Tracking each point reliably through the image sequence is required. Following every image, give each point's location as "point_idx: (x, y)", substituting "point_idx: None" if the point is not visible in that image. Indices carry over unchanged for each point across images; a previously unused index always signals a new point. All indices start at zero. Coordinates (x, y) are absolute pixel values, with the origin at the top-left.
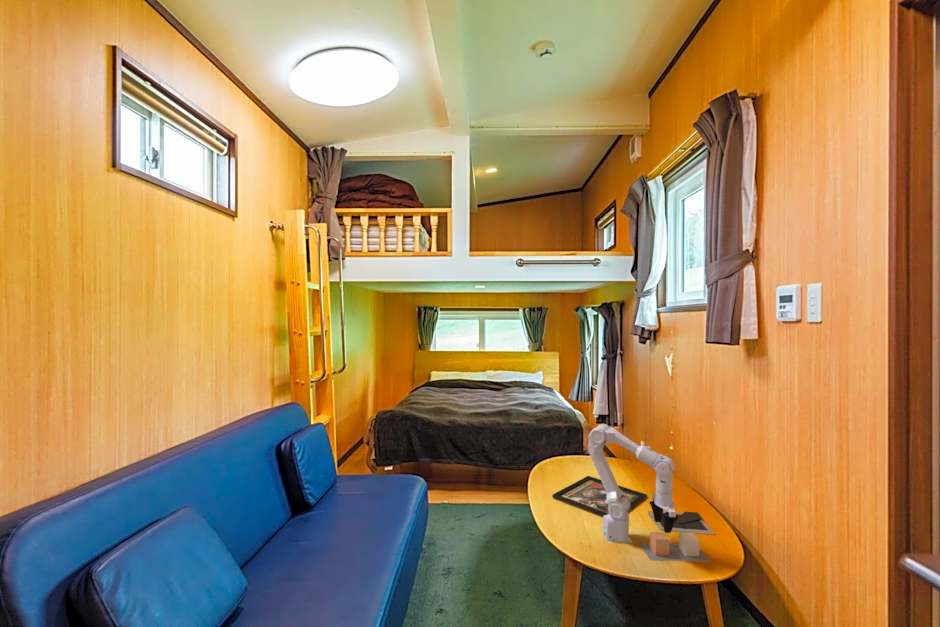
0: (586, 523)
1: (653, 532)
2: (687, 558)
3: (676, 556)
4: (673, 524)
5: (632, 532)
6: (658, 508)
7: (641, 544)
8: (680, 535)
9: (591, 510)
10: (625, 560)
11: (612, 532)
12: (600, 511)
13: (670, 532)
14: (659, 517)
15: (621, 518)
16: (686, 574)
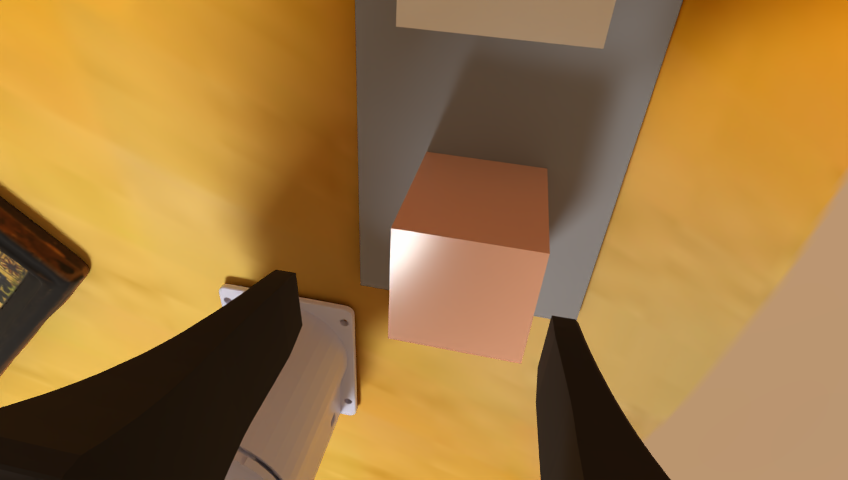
0: None
1: (395, 317)
2: (628, 12)
3: (569, 108)
4: (631, 428)
5: (200, 229)
6: (189, 466)
7: (374, 274)
8: (442, 27)
9: (20, 347)
10: (527, 417)
11: (321, 440)
12: (20, 326)
13: (577, 327)
14: (266, 332)
15: None
16: (817, 165)
